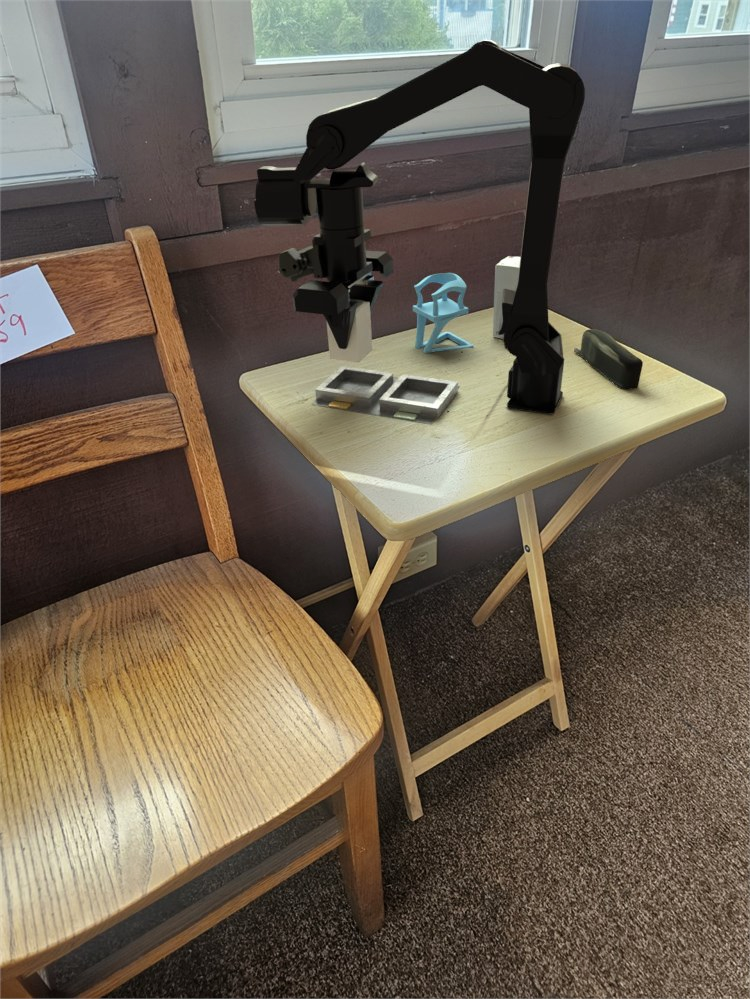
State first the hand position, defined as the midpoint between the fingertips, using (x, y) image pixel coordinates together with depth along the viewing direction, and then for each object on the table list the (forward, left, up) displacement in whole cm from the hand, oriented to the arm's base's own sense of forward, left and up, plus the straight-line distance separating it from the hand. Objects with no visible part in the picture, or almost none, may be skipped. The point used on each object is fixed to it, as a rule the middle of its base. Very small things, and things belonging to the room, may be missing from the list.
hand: (350, 342), depth 94 cm
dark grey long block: (-32, -20, -9) cm, 39 cm away
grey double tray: (-5, 0, -8) cm, 10 cm away
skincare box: (-15, -30, -8) cm, 35 cm away
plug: (0, 0, -2) cm, 2 cm away
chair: (-6, -20, -8) cm, 23 cm away
